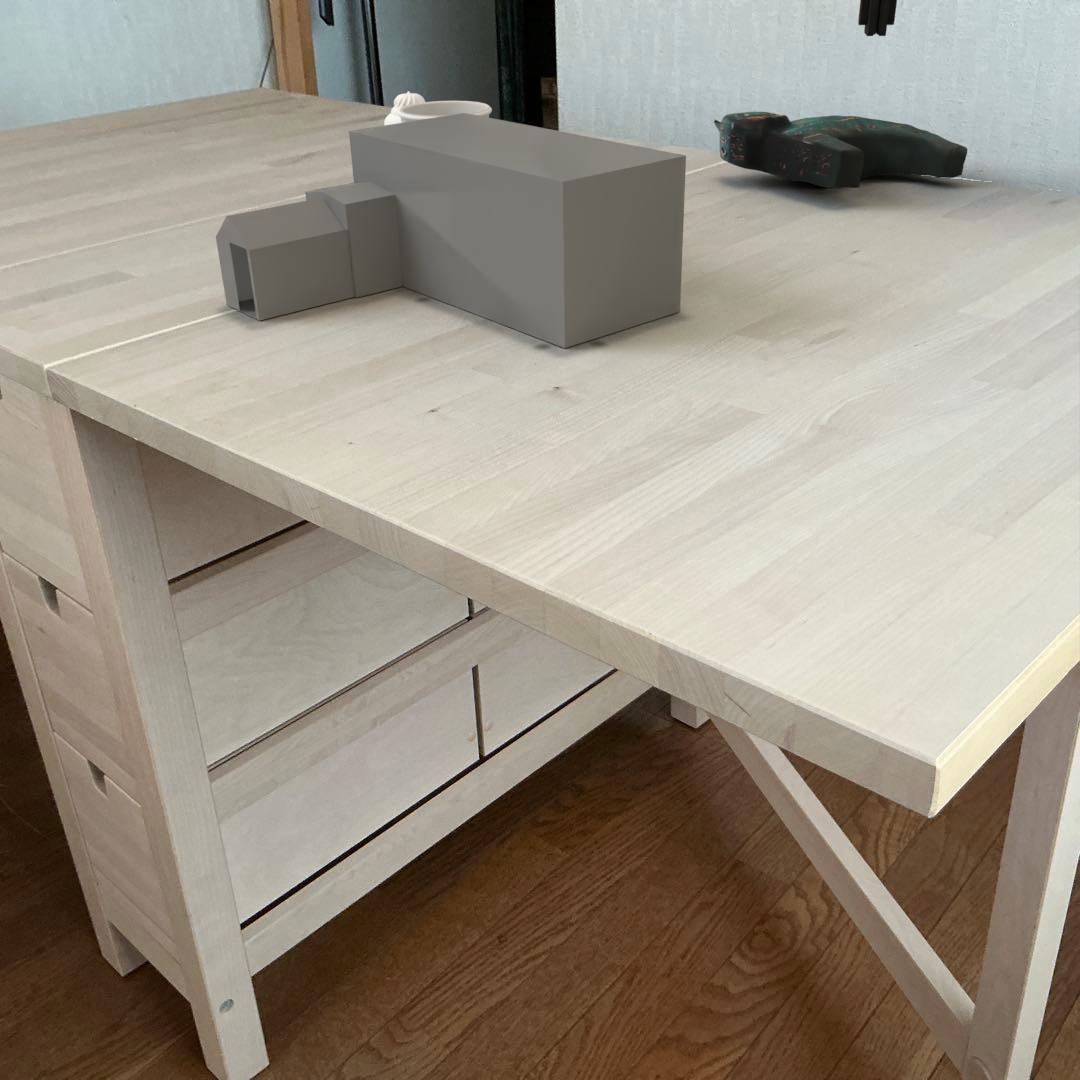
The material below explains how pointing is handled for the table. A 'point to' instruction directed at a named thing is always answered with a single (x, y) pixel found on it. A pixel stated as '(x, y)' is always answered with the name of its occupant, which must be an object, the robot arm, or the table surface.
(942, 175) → the ceramic cat
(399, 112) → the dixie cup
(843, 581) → the table surface
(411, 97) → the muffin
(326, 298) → the stepped duct adapter
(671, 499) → the table surface
